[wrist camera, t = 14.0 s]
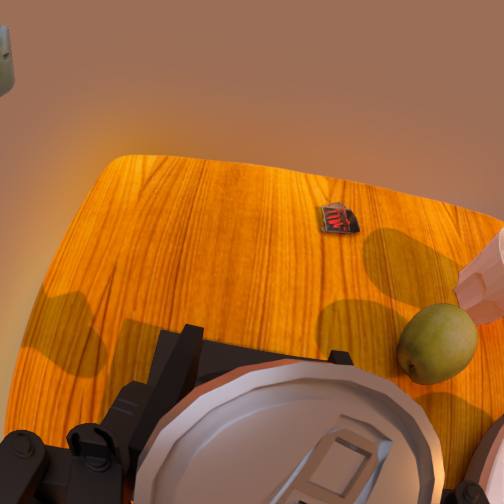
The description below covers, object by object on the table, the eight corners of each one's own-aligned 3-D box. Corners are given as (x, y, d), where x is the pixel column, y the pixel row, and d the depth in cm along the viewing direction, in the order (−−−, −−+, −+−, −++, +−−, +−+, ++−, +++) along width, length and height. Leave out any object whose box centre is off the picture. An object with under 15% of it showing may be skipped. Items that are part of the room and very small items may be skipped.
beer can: (227, 374, 15) (258, 279, 5) (311, 427, 14) (489, 425, 4) (167, 450, 12) (57, 526, 2) (254, 504, 11) (336, 642, 1)
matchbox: (362, 232, 35) (364, 230, 34) (326, 239, 34) (327, 237, 33) (346, 202, 37) (347, 199, 36) (311, 207, 36) (312, 204, 35)
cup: (500, 294, 33) (545, 262, 25) (486, 348, 29) (541, 321, 20) (459, 252, 36) (501, 212, 27) (440, 303, 31) (494, 265, 23)
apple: (454, 359, 28) (501, 339, 21) (403, 405, 25) (454, 395, 18) (424, 305, 31) (467, 275, 24) (370, 343, 28) (414, 318, 21)
